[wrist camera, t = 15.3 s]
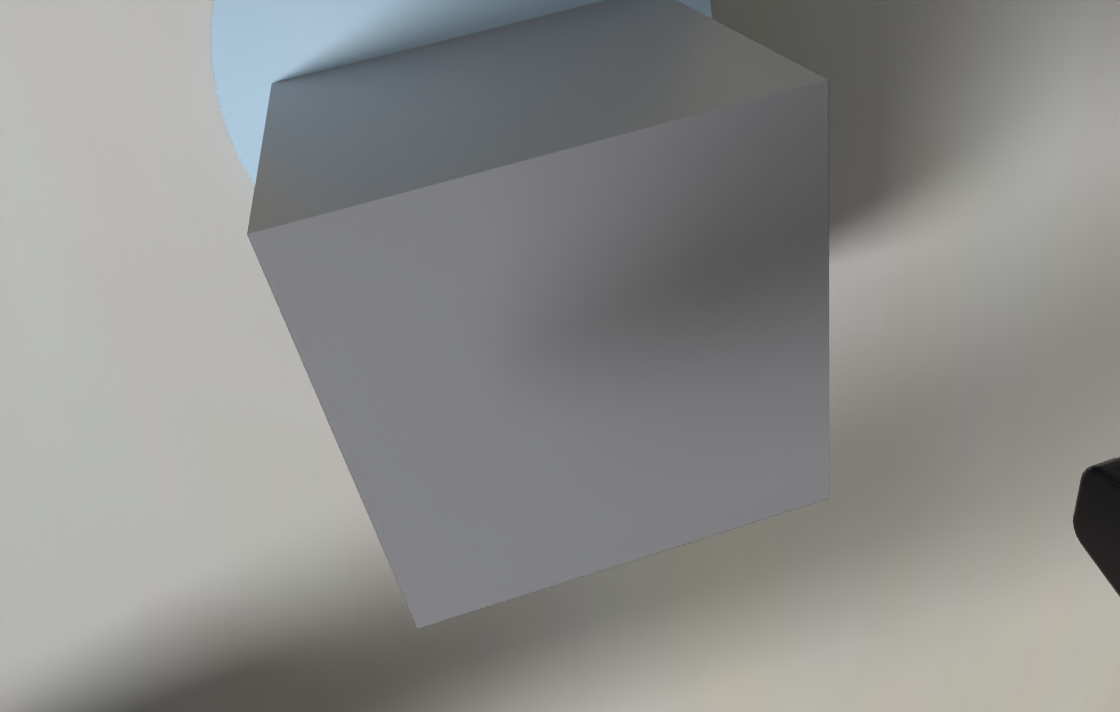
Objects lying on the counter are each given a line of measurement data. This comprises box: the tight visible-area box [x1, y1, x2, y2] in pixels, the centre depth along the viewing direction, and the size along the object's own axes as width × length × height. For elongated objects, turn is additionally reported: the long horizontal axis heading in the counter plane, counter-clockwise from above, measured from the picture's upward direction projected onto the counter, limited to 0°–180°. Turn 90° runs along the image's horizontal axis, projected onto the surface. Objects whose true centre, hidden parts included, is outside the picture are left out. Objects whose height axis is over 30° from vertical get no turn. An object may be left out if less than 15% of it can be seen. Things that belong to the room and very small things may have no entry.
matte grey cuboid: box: [247, 0, 829, 629], centre depth 16 cm, size 8×8×7 cm
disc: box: [211, 0, 712, 185], centre depth 17 cm, size 10×10×1 cm
